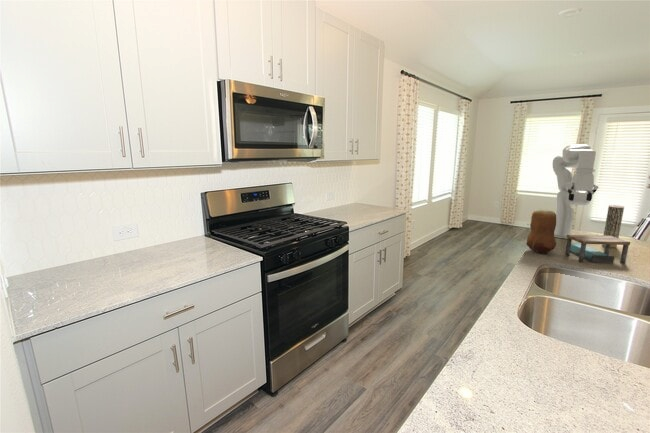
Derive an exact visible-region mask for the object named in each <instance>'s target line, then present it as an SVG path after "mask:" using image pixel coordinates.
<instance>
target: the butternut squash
mask: <svg viewBox="0 0 650 433" xmlns="http://www.w3.org/2000/svg"><path fill="white" fill-rule="evenodd" d="M530 217H531V219H530V231H529V234H528V236H527V238H526V246H527V247H528V248H529V250H530V251H534V252H536V253H538V254H544V255H545V254H547V253H548V254H549V253H550V252H552V251H554V250H555V249H556V245H557V241H556V237H555V236H554V231H555V227H556V212H554V211H553V210H550V209H549V210H548V209H547V210H545V209H540V208H539V209H538V208H537V209H535V210H534V211H533V212H532V214H531V216H530Z"/></svg>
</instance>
